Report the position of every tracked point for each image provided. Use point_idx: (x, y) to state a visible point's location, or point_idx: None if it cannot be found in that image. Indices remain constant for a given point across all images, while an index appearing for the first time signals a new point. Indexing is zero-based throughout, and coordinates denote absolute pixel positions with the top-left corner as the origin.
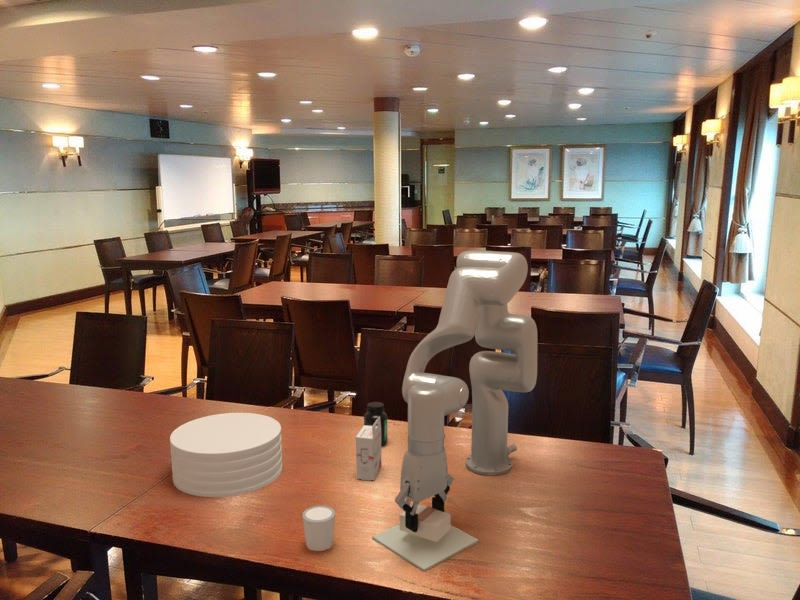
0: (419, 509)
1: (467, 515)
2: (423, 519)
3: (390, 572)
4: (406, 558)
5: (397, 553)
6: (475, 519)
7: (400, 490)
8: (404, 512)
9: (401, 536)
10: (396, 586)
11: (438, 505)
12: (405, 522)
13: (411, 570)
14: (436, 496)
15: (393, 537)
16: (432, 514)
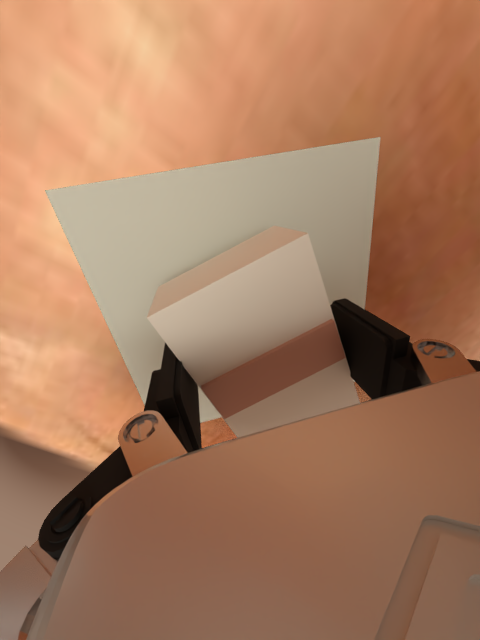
0: (283, 317)
1: (451, 250)
2: (234, 413)
3: (62, 403)
4: (133, 380)
5: (117, 344)
6: (443, 283)
7: (29, 635)
8: (188, 308)
9: (178, 263)
10: (59, 451)
11: (366, 373)
12: (151, 377)
13: (128, 414)
14: (409, 379)
15: (143, 252)
16: (301, 382)
